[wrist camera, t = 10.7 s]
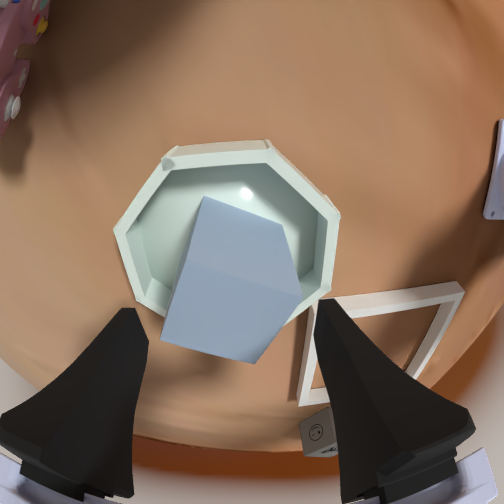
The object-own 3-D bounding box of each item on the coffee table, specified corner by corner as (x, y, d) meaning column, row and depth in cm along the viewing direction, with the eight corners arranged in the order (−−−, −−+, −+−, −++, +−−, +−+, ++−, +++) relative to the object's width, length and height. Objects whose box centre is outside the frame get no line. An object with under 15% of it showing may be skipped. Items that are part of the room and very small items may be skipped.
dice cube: (327, 406, 29) (335, 442, 25) (351, 411, 31) (360, 443, 27) (298, 422, 31) (304, 455, 27) (324, 426, 33) (330, 456, 29)
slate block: (282, 224, 16) (303, 297, 10) (249, 284, 18) (254, 364, 13) (203, 195, 14) (185, 260, 9) (179, 262, 17) (159, 340, 11)
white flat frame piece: (456, 280, 20) (465, 291, 18) (409, 372, 27) (413, 382, 26) (310, 299, 19) (314, 314, 18) (296, 394, 27) (298, 406, 25)
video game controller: (31, 122, 13) (0, 158, 8) (-21, 119, 10) (-66, 156, 6) (80, -15, 8) (68, -47, 4) (22, -17, 5) (-12, -41, 1)
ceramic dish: (330, 138, 14) (347, 147, 11) (316, 304, 20) (324, 329, 18) (116, 154, 13) (97, 167, 11) (157, 312, 19) (150, 338, 17)
